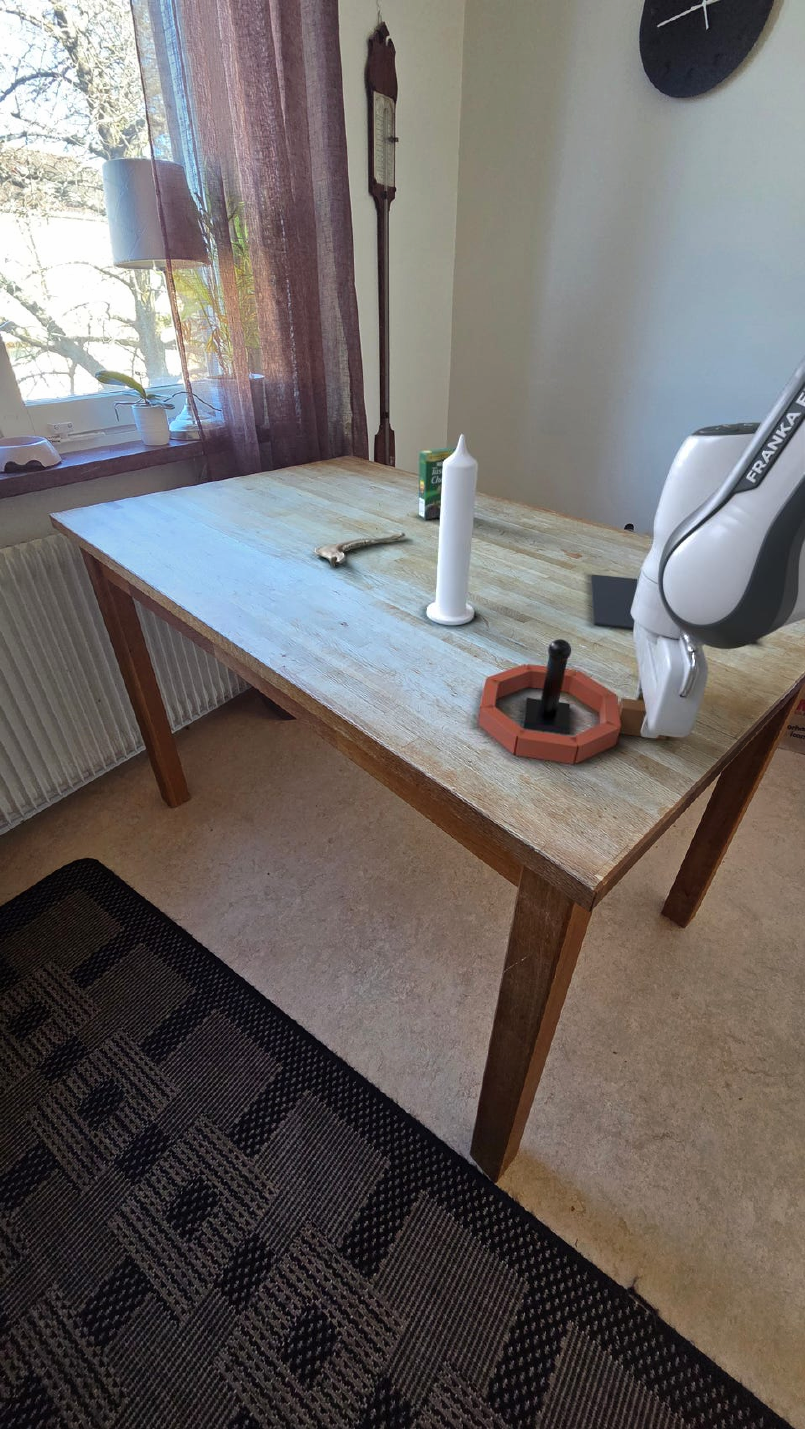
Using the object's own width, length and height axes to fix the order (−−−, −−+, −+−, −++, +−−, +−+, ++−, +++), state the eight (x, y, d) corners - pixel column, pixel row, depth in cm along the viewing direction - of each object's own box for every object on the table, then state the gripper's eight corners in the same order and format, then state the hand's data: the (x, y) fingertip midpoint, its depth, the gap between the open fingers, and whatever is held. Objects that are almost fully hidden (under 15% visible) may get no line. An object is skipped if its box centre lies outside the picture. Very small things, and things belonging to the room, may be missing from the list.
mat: (728, 590, 99) (729, 588, 98) (755, 643, 84) (756, 641, 84) (591, 576, 102) (591, 574, 102) (593, 625, 88) (594, 622, 88)
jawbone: (301, 564, 106) (299, 552, 105) (369, 532, 120) (368, 522, 119) (341, 572, 102) (340, 560, 101) (407, 538, 116) (407, 527, 114)
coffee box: (423, 521, 124) (425, 453, 116) (416, 516, 126) (418, 450, 118) (456, 515, 127) (461, 449, 119) (449, 511, 129) (453, 446, 121)
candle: (450, 599, 94) (462, 426, 79) (483, 616, 90) (502, 435, 75) (416, 612, 90) (422, 433, 76) (449, 630, 86) (462, 443, 71)
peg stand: (568, 708, 71) (585, 632, 65) (568, 734, 67) (586, 655, 61) (526, 702, 72) (538, 627, 66) (523, 727, 68) (536, 649, 62)
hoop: (656, 697, 73) (664, 673, 71) (673, 779, 61) (683, 753, 59) (488, 674, 77) (490, 651, 75) (472, 748, 65) (475, 723, 63)
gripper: (739, 662, 50) (690, 785, 58) (698, 567, 66) (664, 674, 74) (659, 652, 51) (622, 774, 59) (638, 561, 67) (611, 667, 75)
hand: (645, 718), depth 67 cm, fingers open, 4 cm apart
